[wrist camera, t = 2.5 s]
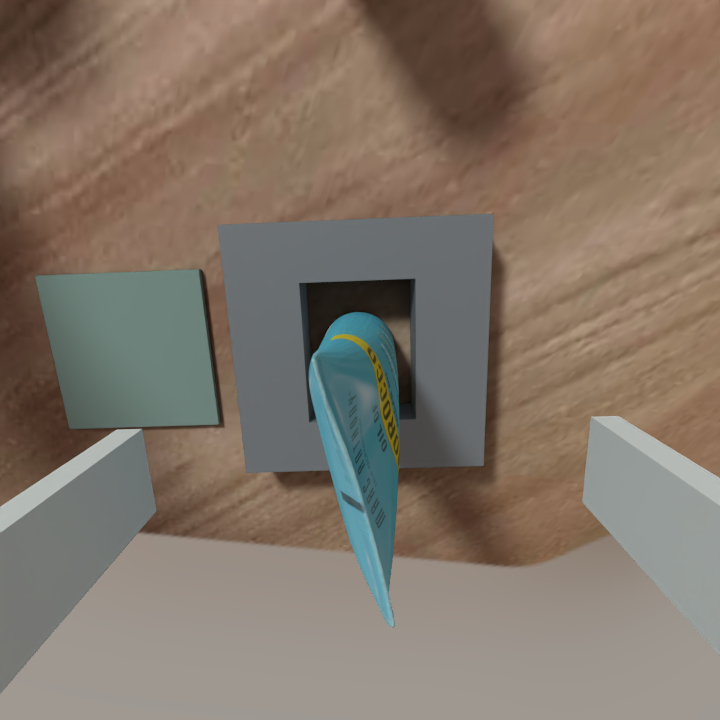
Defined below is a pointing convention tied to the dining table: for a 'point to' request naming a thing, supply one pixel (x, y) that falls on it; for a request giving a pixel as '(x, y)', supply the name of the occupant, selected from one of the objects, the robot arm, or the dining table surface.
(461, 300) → the socket board
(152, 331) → the coaster
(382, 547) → the tube
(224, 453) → the dining table surface
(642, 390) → the dining table surface
